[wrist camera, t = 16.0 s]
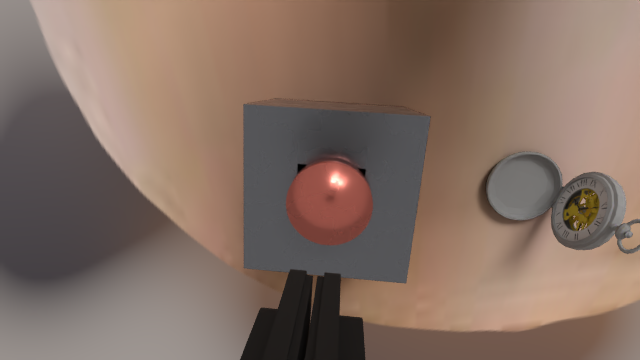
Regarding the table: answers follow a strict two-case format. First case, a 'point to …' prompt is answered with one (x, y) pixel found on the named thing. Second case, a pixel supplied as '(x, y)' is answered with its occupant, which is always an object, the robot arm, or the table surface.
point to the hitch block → (341, 143)
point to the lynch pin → (329, 202)
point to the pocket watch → (560, 200)
